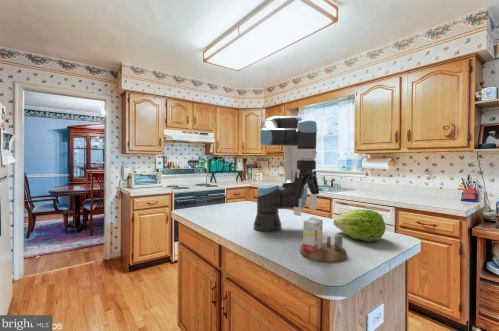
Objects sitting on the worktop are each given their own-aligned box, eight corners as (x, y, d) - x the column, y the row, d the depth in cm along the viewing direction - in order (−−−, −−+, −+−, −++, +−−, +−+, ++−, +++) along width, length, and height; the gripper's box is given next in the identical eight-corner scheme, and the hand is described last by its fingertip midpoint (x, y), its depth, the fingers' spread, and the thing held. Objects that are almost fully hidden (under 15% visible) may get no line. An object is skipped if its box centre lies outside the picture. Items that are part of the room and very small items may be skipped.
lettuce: (346, 229, 138) (341, 204, 138) (393, 236, 118) (387, 206, 118) (327, 240, 128) (322, 213, 128) (375, 249, 108) (369, 216, 108)
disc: (302, 261, 94) (302, 241, 94) (298, 244, 112) (298, 227, 112) (352, 264, 92) (352, 243, 92) (340, 246, 110) (341, 229, 110)
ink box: (313, 253, 98) (314, 223, 97) (302, 250, 101) (302, 221, 100) (322, 247, 104) (323, 219, 104) (311, 244, 108) (312, 217, 107)
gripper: (299, 160, 90) (298, 219, 91) (327, 159, 109) (326, 208, 110) (281, 160, 94) (281, 216, 95) (311, 159, 114) (310, 206, 115)
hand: (305, 212), depth 103 cm, fingers open, 13 cm apart
